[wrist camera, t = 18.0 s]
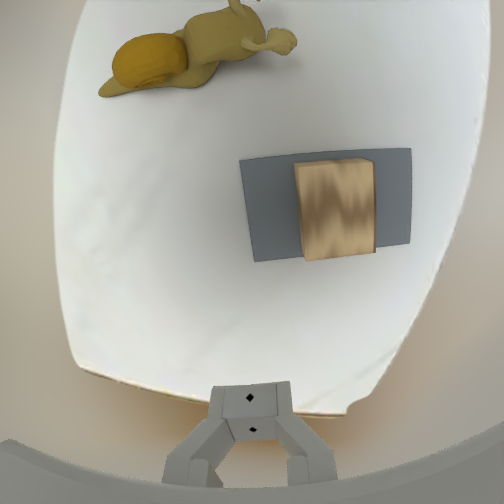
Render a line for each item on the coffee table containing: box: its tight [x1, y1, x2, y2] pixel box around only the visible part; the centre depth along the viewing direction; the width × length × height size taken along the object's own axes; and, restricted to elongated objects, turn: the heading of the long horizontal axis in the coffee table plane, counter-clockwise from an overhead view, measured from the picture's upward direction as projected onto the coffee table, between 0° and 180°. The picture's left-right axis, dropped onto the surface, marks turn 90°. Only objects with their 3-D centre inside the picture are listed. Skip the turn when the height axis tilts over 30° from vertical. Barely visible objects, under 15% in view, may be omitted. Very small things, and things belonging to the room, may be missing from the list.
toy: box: [98, 0, 297, 97], centre depth 22 cm, size 8×21×10 cm, turn 103°
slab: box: [294, 158, 376, 261], centre depth 31 cm, size 10×4×8 cm
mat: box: [239, 148, 412, 262], centre depth 33 cm, size 12×20×1 cm, turn 98°
